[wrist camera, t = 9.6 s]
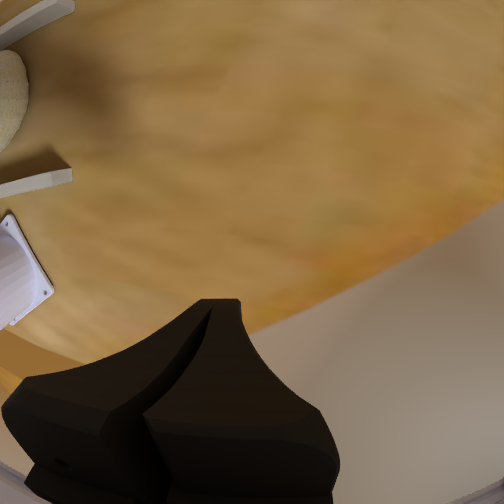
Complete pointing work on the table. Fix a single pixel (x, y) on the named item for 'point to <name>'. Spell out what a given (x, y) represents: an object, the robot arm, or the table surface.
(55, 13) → the grey u-shaped bracket
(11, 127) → the sea urchin shell
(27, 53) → the table surface
